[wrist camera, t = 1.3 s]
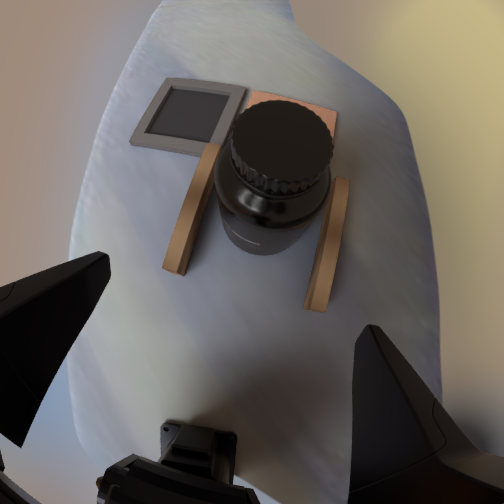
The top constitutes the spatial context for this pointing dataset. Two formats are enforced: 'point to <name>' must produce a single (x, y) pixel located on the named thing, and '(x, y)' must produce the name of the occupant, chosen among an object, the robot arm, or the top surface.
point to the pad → (325, 114)
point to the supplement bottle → (273, 175)
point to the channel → (197, 204)
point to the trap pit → (188, 116)
